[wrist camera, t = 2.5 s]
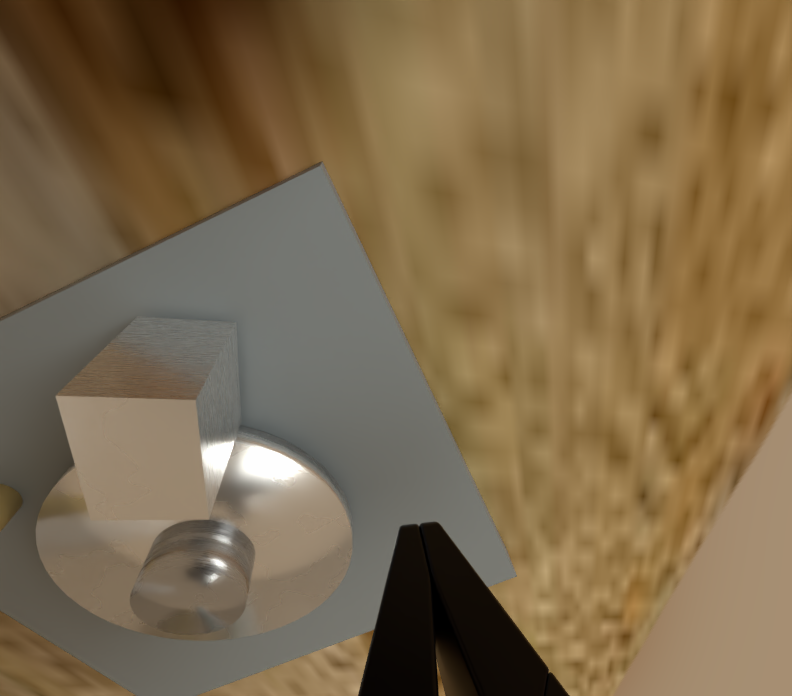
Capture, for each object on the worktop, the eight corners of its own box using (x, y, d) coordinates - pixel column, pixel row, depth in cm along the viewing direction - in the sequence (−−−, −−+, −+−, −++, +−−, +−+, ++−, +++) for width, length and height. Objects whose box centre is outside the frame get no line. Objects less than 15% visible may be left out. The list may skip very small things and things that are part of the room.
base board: (322, 161, 14) (311, 185, 9) (507, 551, 24) (553, 671, 19) (-211, 421, 16) (-482, 568, 11) (167, 680, 26) (124, 820, 21)
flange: (208, 282, 14) (154, 349, 10) (400, 561, 21) (414, 665, 17) (-109, 432, 15) (-276, 547, 11) (177, 647, 22) (141, 764, 18)
